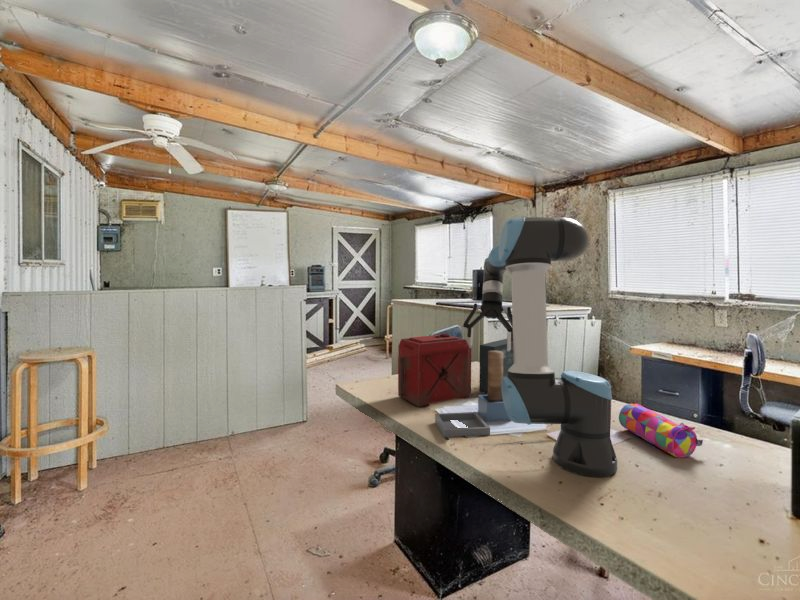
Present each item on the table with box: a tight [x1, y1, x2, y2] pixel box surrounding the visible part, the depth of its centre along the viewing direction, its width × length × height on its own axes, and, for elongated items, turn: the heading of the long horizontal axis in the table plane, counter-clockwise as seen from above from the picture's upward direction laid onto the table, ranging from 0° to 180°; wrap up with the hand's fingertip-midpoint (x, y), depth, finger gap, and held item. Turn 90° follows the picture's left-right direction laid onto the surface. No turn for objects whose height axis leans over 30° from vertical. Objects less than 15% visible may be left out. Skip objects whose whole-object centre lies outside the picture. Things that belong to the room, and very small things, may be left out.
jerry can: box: [397, 333, 472, 408], centre depth 155 cm, size 30×16×25 cm, turn 118°
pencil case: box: [618, 402, 704, 458], centre depth 114 cm, size 22×9×9 cm, turn 11°
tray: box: [434, 411, 491, 441], centre depth 124 cm, size 14×14×3 cm
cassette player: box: [478, 338, 514, 394], centre depth 171 cm, size 29×7×20 cm, turn 135°
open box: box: [477, 394, 511, 422], centre depth 133 cm, size 9×9×7 cm
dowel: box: [487, 351, 503, 402], centre depth 132 cm, size 5×5×22 cm
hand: (489, 348), depth 142 cm, fingers open, 13 cm apart
